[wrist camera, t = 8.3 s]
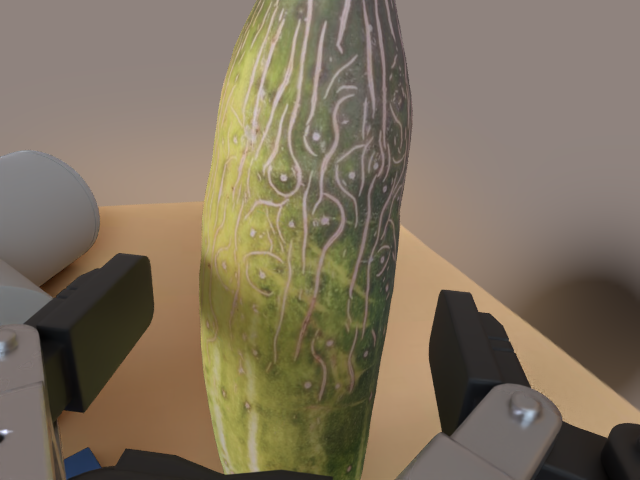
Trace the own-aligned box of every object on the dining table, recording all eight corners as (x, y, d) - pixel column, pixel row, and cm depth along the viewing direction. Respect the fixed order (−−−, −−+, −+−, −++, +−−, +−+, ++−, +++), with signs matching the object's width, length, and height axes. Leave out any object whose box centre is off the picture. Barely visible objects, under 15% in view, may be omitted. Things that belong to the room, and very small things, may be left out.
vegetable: (177, 547, 17) (116, -147, 8) (245, 420, 22) (249, -73, 14) (340, 602, 16) (454, -146, 7) (369, 453, 21) (453, -66, 13)
